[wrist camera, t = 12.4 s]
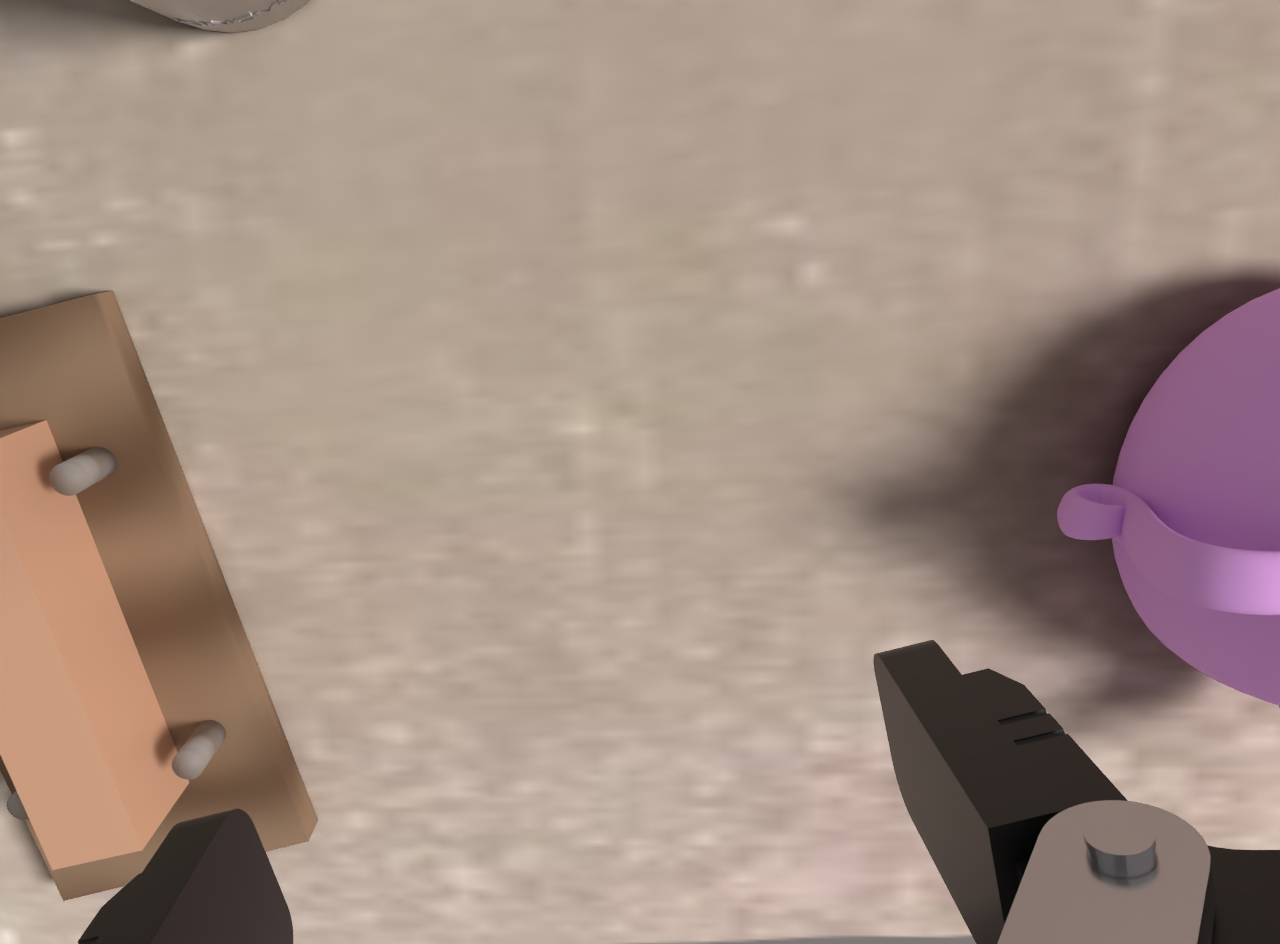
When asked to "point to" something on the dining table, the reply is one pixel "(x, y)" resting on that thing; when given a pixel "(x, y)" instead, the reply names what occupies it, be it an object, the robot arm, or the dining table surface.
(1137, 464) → the teapot
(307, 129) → the dining table surface
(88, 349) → the rack
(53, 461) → the clay strip
